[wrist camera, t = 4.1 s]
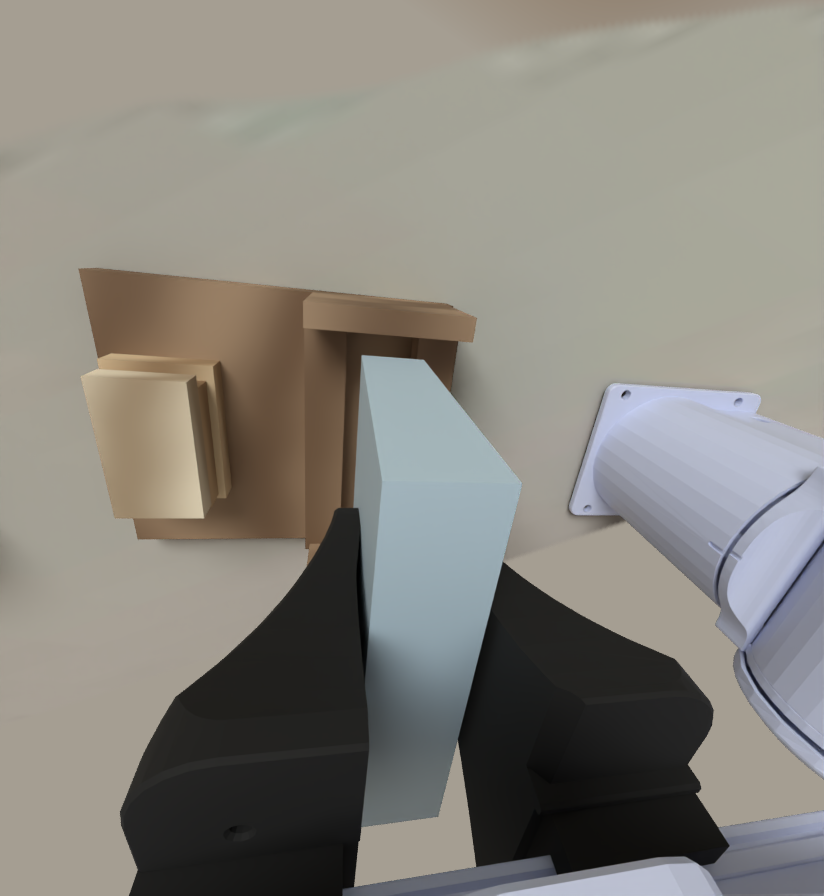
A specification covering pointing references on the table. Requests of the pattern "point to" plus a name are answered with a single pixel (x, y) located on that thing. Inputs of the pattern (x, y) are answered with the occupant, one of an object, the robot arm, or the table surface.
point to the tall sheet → (421, 576)
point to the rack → (272, 384)
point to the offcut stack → (160, 434)
